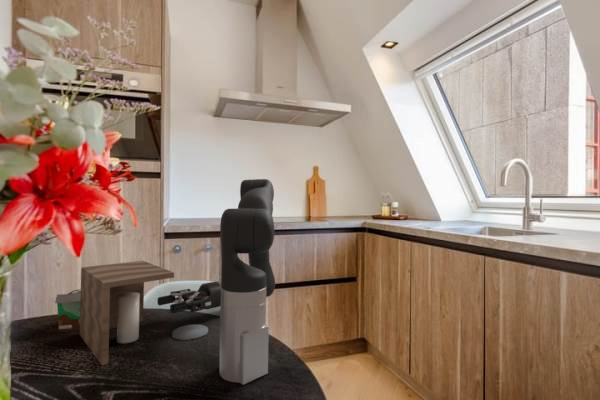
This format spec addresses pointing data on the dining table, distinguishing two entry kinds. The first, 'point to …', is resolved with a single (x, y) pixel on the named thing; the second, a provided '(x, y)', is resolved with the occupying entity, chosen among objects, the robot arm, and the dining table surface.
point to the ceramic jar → (128, 317)
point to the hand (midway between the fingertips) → (164, 305)
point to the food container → (69, 311)
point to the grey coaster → (189, 332)
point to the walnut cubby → (111, 299)
